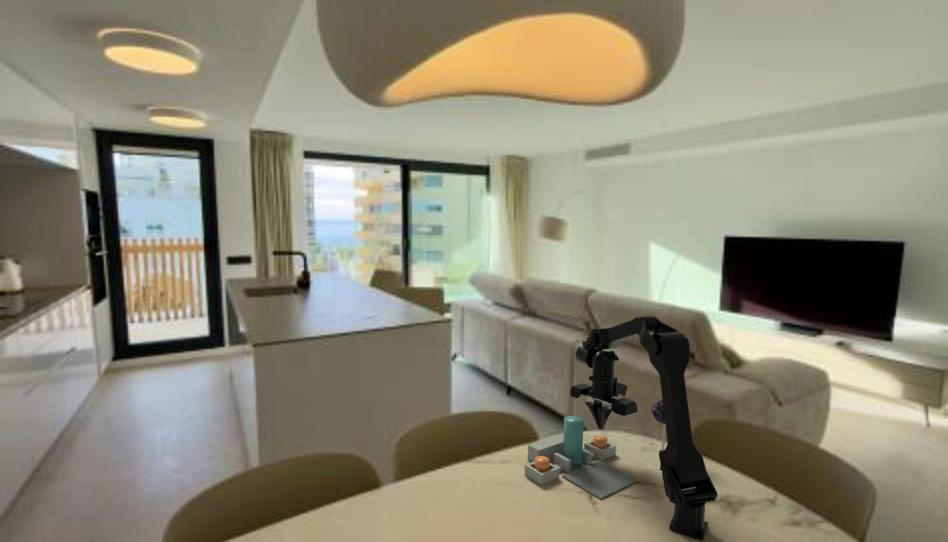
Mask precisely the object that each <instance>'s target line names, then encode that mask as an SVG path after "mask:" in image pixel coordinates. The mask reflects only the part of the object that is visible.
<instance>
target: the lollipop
mask: <svg viewBox="0 0 948 542" xmlns="http://www.w3.org/2000/svg"><path fill="white" fill-rule="evenodd" d="M651 413H652V415H653V417H654V419H655V420H656V421H657V422H659V423H660V424H662V438H661V450H665V441H666V440H665V439H666V424H665V416H664V408H663V400H662V399H660V400H659V399H658V400H657V401H656V402H654V404H653V406H652V407H651Z"/></svg>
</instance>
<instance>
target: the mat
mask: <svg viewBox="0 0 948 542" xmlns="http://www.w3.org/2000/svg"><path fill="white" fill-rule="evenodd" d="M561 477H562V479H565V480H567V481H569V482H570V483H572V484H573V485H575V486H577V487H579V488H580V489H582V490H583V491H586V492H587V493H589V494H591V495H592V496H595V497H596V498H598V499H599V500H603V499H605V498H607V497H609V496H611V495H613V494H615V493H618V492H619V491H622V490H624V489H626V488H627V486H628V487H629V485H630V486H631V484H632V485H634V484H636V483H637V482H639V479H637V478H635V477H634V476H632V475H629V474H628V473H626V472H623V471H621V470H619V469H617V468H616V467H614V466H611V465H609V464H608V463H606V462H603V460H599V459H598V460H595V461H594V462H591V464H586V465H584V466H582V467H581V468H578V469H573V470H571V472H569V473H567V472H566V473H564V474H562V476H561ZM633 483H634V484H633ZM625 487H626V488H625ZM623 488H624V489H623Z"/></svg>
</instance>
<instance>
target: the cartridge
mask: <svg viewBox="0 0 948 542" xmlns="http://www.w3.org/2000/svg"><path fill="white" fill-rule="evenodd" d="M584 421H585V420H584V419H583V418H582V417H579V416H576V415H568V416H565V417H564V418H563V433H564V436H563V455H562V456H564V457H566V458H568V459H570V460H571V470H576V469H579V468H581V467H583V463H584V462H583V457H582V453H583V448H584V445H583V444H584Z"/></svg>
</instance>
